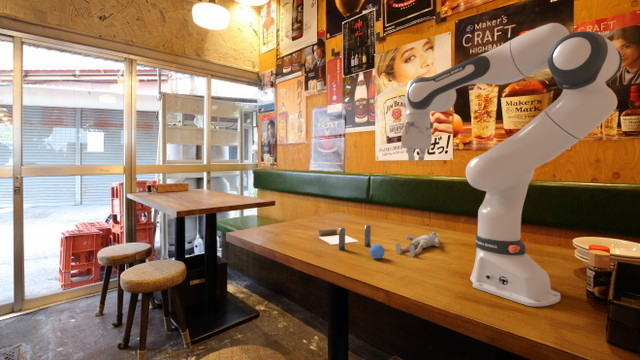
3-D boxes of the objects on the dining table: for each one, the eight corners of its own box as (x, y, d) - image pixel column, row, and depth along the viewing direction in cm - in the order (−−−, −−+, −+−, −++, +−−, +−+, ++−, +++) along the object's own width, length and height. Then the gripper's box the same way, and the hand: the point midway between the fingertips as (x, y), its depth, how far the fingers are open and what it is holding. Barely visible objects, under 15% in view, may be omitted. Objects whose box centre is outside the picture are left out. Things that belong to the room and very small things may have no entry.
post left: (346, 250, 127) (346, 228, 126) (340, 250, 126) (340, 229, 125) (343, 248, 129) (343, 227, 129) (337, 249, 128) (337, 227, 128)
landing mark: (359, 241, 140) (359, 241, 140) (331, 245, 135) (331, 244, 135) (344, 234, 153) (344, 234, 153) (318, 237, 147) (318, 237, 147)
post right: (371, 246, 132) (371, 225, 132) (366, 247, 131) (366, 226, 131) (368, 245, 135) (368, 224, 134) (363, 245, 134) (363, 225, 133)
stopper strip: (336, 234, 155) (336, 229, 155) (320, 235, 151) (320, 231, 151) (334, 233, 157) (335, 228, 156) (318, 235, 153) (318, 230, 153)
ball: (387, 259, 114) (387, 245, 114) (375, 261, 112) (375, 246, 112) (378, 255, 119) (378, 241, 119) (366, 257, 117) (367, 243, 117)
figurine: (389, 241, 124) (421, 226, 146) (389, 255, 124) (422, 238, 146) (420, 247, 115) (450, 230, 137) (420, 263, 115) (450, 243, 137)
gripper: (414, 119, 103) (413, 160, 104) (434, 125, 119) (434, 161, 120) (397, 121, 107) (396, 161, 108) (419, 126, 123) (418, 161, 124)
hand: (416, 161), depth 114 cm, fingers open, 8 cm apart
